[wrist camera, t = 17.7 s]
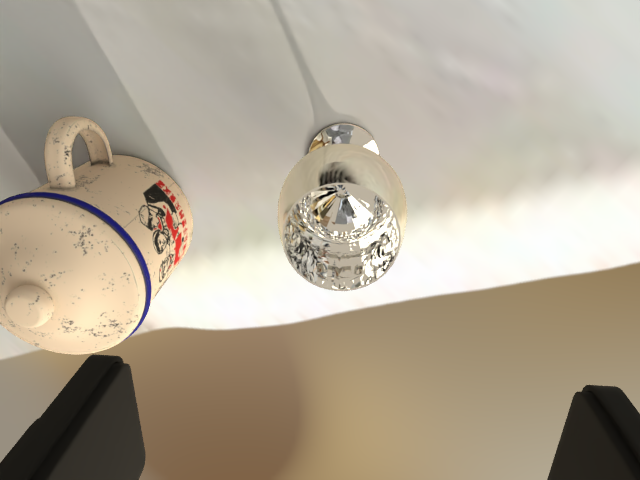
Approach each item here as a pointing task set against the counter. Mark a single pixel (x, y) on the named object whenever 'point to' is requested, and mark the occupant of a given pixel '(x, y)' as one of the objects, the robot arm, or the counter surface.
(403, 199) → the wineglass
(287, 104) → the counter surface
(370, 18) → the counter surface
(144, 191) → the teacup with lid
